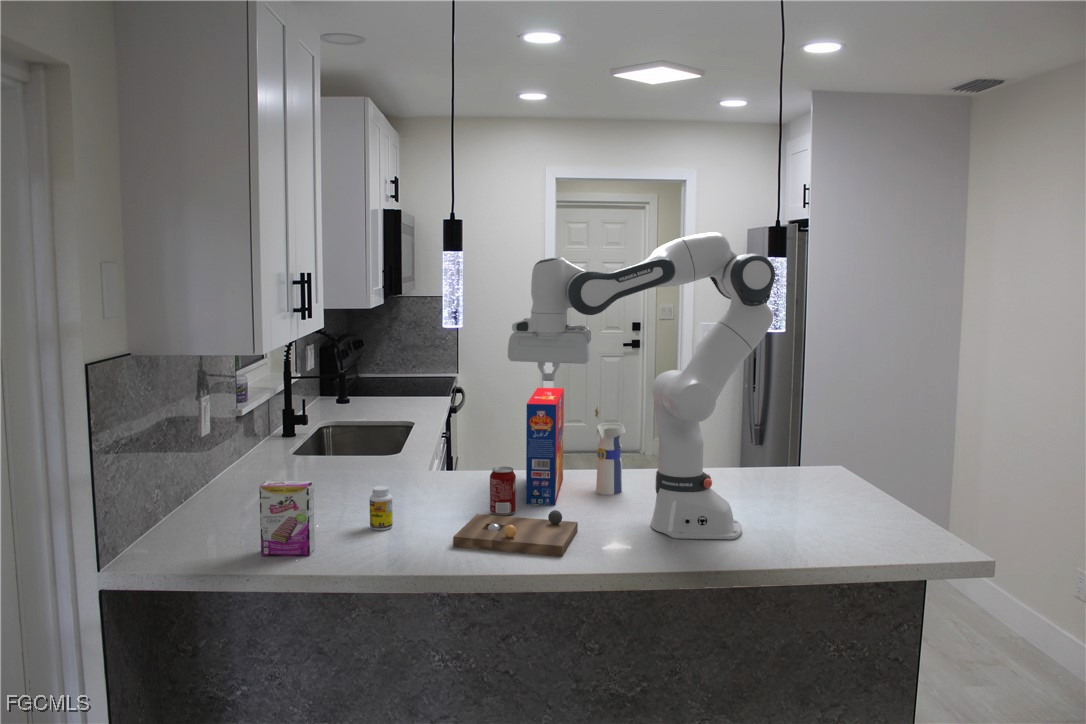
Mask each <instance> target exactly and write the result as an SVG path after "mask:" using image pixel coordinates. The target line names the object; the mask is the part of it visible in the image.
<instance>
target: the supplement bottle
mask: <svg viewBox="0 0 1086 724" xmlns="http://www.w3.org/2000/svg"><path fill="white" fill-rule="evenodd" d="M393 523H394V521H393V495H391V493H390V487H388V486H386V485H377V486H374V487H372V494H371V495H370V496H369V528H370V529H371V530H373V531H378V532H379V531H388V530H390V529H391V528H392V527H393V525H394V524H393Z"/></svg>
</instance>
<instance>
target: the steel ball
mask: <svg viewBox="0 0 1086 724" xmlns="http://www.w3.org/2000/svg"><path fill="white" fill-rule="evenodd" d="M487 530H495V531H500V530H501V528H500V526H499V525H498V524H495V523H493V524H490V525H489V526H488V528H487Z"/></svg>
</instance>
